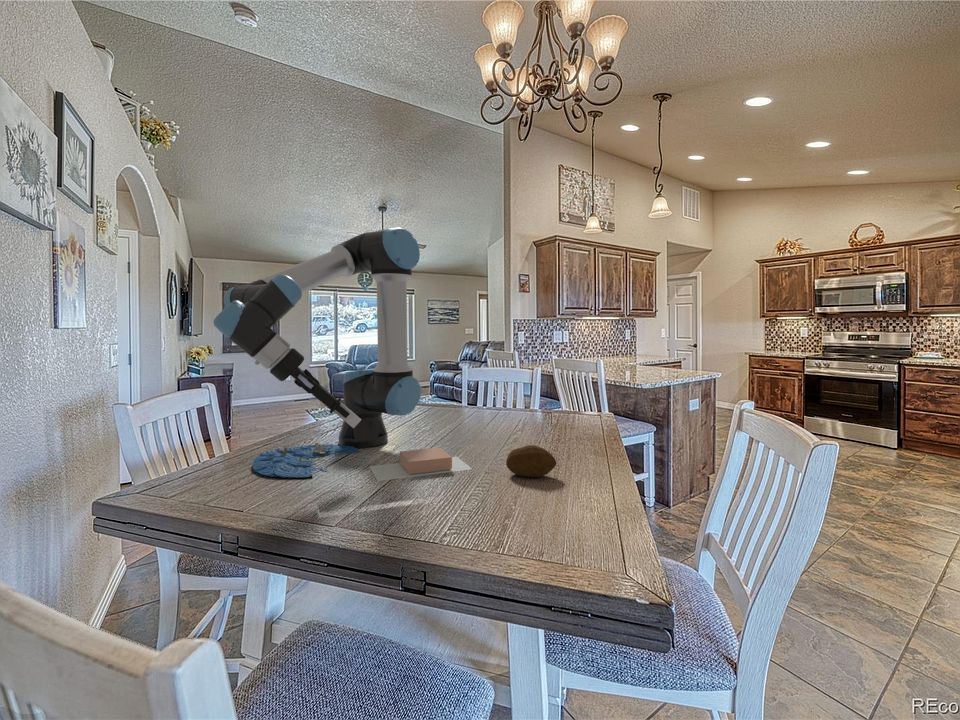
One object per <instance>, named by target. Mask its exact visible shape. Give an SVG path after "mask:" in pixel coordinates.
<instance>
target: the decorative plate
mask: <svg viewBox="0 0 960 720" xmlns="http://www.w3.org/2000/svg"><path fill="white" fill-rule="evenodd" d="M359 453H360V451H358V448H354V447H352V446H351V447H350V446H342V445H340V444H338V445H337V444H333V443H332V444H330V443H326V444H319V443H318V442H315V444H313V445H312V444H308V445H300V446H293V447H283V446H277V449H273V450H272V449H271V450H267V451H266V452H261V453H260V454H259V455H258V456H256V457H255V458H254V459H253V460H252V468H253V471H254V472H256V473H259V474H260V475H264V476H266V477H276V478H286V479H287V478H292V479H293V478H297V479H298V478H310V477H312V476H313V474H315V472H314V471H318V470H320V472H323V473H329V470H328V469H327V468H325V470H324V468H323V466H322V467H320V468H319V467H318V468H317V467H314V466H318V465H319V463H318V462H314V461H316V460H314V459H318V461H319V462H325V459H324V460H323V459H321V457H328V456H331V457H332V456H340V455H341V456H342V455H352V454H359Z"/></svg>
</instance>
